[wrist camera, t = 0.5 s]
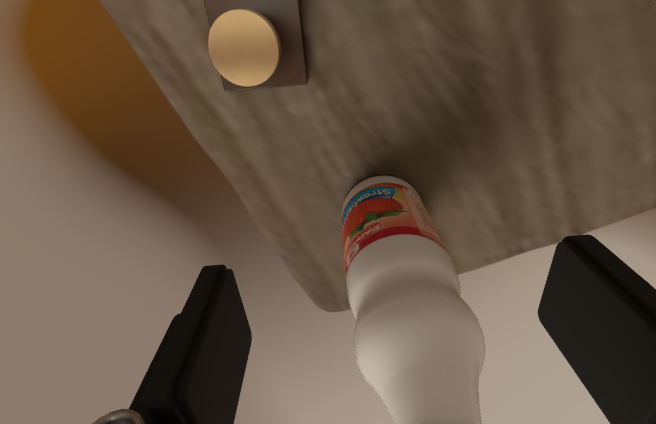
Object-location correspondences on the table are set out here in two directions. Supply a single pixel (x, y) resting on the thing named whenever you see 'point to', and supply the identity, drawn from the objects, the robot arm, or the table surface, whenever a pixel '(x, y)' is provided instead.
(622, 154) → the table surface
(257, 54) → the chip
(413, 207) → the white yogurt drink bottle
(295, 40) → the stand
